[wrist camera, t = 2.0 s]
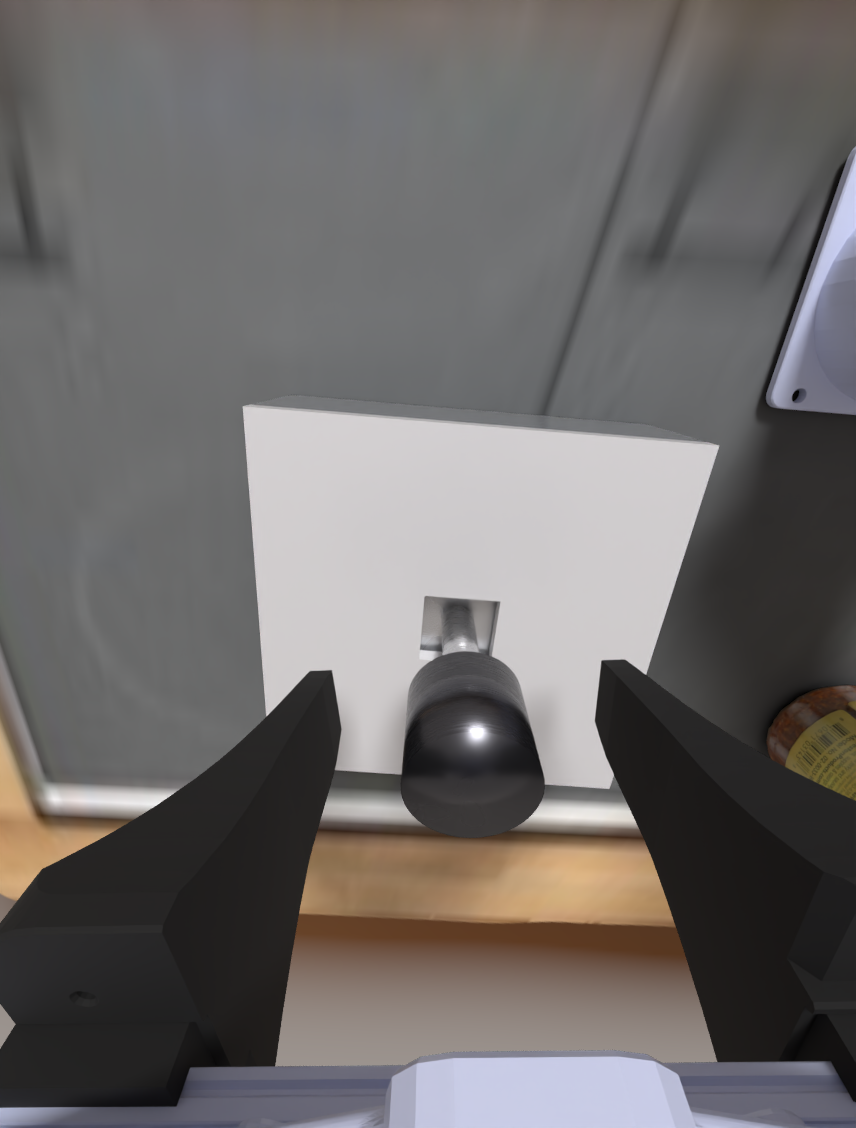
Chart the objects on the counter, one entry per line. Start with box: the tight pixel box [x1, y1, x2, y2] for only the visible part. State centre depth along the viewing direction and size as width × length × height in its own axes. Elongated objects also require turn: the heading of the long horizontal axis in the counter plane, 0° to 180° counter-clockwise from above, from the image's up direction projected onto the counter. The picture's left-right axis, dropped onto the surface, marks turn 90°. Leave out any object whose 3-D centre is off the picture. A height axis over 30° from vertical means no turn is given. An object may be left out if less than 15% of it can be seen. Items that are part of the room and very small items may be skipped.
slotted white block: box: [243, 395, 719, 789], centre depth 19 cm, size 14×14×5 cm
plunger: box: [401, 596, 545, 838], centre depth 14 cm, size 11×11×8 cm
